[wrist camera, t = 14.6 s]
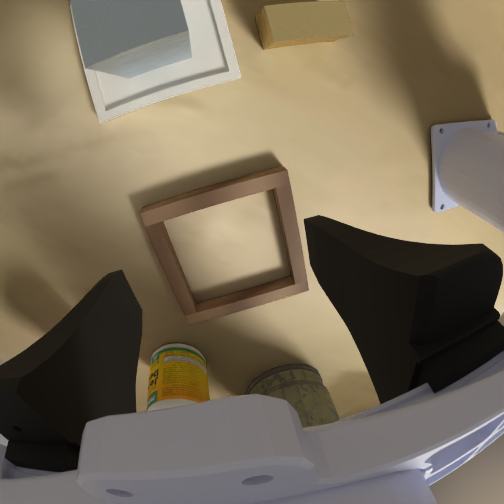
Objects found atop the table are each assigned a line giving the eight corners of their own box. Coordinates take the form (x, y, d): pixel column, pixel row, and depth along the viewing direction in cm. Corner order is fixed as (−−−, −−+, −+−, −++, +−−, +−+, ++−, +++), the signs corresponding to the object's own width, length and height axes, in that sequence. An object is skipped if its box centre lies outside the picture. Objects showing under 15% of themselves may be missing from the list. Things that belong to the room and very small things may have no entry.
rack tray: (207, -36, 13) (208, -43, 12) (238, 79, 17) (241, 78, 16) (75, 8, 13) (69, 4, 12) (105, 122, 17) (99, 123, 16)
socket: (282, 166, 21) (287, 170, 20) (304, 282, 26) (308, 290, 25) (142, 207, 20) (139, 213, 19) (189, 315, 25) (189, 324, 24)
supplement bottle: (202, 379, 30) (210, 462, 21) (150, 375, 28) (146, 458, 20) (209, 343, 27) (220, 434, 19) (151, 337, 26) (143, 430, 18)
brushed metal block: (177, 3, 14) (167, -51, 7) (192, 57, 16) (188, 30, 9) (114, 24, 13) (67, -13, 7) (129, 78, 15) (85, 68, 9)
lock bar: (325, 10, 16) (344, 0, 13) (333, 41, 17) (353, 35, 14) (254, 17, 15) (264, 5, 13) (263, 49, 17) (274, 42, 14)
